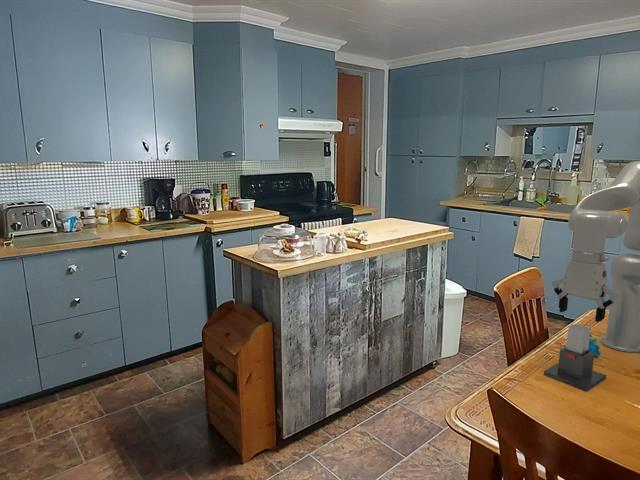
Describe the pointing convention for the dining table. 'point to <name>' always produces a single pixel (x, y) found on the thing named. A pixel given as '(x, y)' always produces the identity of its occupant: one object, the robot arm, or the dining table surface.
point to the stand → (575, 370)
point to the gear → (594, 346)
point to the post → (578, 339)
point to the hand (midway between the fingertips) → (580, 315)
